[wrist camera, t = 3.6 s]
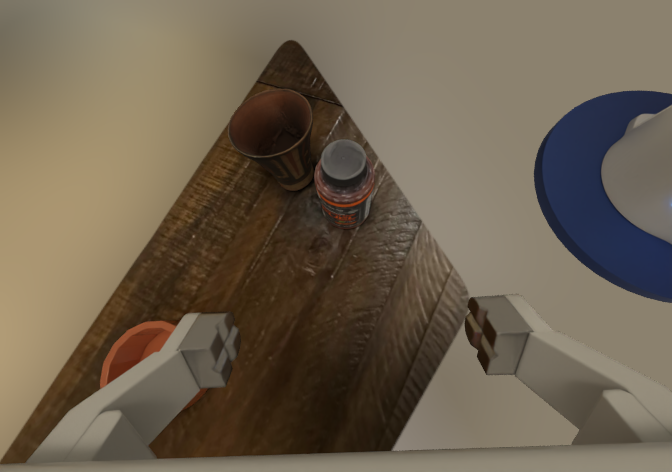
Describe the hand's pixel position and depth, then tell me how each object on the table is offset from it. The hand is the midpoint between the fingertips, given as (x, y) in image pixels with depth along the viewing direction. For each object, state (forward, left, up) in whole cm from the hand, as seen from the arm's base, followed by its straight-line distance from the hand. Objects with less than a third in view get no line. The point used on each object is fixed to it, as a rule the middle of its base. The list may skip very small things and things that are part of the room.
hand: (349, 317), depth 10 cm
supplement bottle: (0, -13, -22) cm, 26 cm away
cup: (+7, -19, -22) cm, 30 cm away
